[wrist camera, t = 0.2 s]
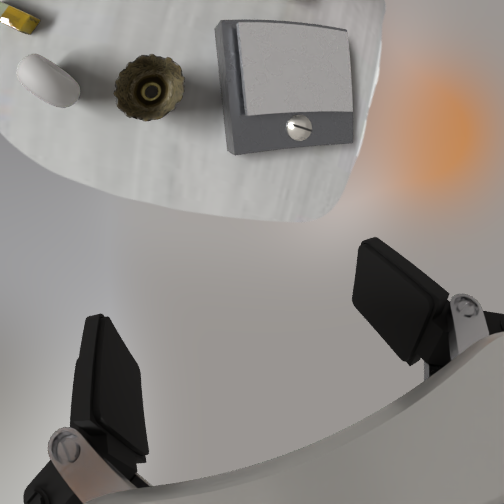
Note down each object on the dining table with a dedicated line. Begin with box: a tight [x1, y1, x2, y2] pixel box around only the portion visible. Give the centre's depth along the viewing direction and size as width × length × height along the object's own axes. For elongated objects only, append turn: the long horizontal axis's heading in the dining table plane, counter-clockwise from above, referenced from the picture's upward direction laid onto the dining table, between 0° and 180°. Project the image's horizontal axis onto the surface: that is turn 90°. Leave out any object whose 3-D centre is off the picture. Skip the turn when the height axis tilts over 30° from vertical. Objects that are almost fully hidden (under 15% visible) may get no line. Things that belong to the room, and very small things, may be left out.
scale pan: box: [236, 22, 353, 116], centre depth 28 cm, size 12×15×1 cm
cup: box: [114, 54, 185, 121], centre depth 26 cm, size 8×7×8 cm
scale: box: [215, 20, 353, 155], centre depth 32 cm, size 18×18×4 cm
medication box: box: [0, 1, 40, 34], centre depth 13 cm, size 12×3×4 cm, turn 48°
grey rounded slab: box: [17, 54, 80, 108], centre depth 20 cm, size 10×4×10 cm, turn 43°
